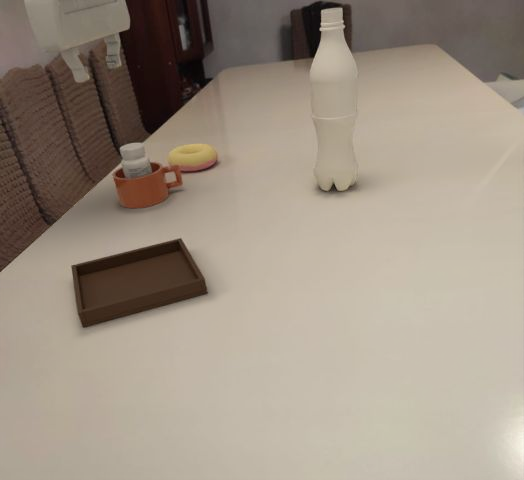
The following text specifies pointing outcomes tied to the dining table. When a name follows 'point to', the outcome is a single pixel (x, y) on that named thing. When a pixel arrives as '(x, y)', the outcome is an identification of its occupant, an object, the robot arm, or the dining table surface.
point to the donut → (193, 157)
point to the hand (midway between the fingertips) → (99, 74)
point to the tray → (135, 281)
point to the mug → (145, 186)
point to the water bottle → (334, 104)
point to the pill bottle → (135, 161)
